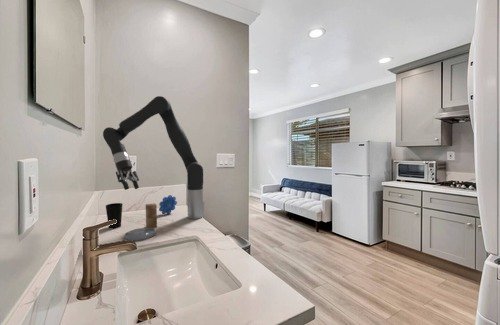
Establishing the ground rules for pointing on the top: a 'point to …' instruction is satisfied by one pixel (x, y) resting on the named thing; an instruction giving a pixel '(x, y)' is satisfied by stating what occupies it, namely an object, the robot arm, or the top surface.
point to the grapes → (167, 204)
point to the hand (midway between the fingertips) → (132, 188)
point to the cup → (114, 214)
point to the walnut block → (151, 215)
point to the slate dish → (140, 234)
